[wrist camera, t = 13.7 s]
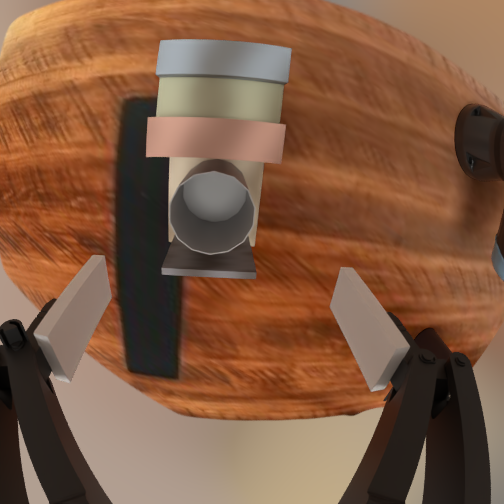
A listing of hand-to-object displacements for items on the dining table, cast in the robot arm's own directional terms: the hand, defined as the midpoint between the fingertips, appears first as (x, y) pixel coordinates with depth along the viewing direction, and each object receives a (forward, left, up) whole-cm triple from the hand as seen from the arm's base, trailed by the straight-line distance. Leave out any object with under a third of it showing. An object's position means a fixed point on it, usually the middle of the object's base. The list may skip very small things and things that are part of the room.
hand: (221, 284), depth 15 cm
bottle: (-50, +31, -25) cm, 64 cm away
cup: (+1, 0, -23) cm, 23 cm away
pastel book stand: (+1, -4, -25) cm, 25 cm away
